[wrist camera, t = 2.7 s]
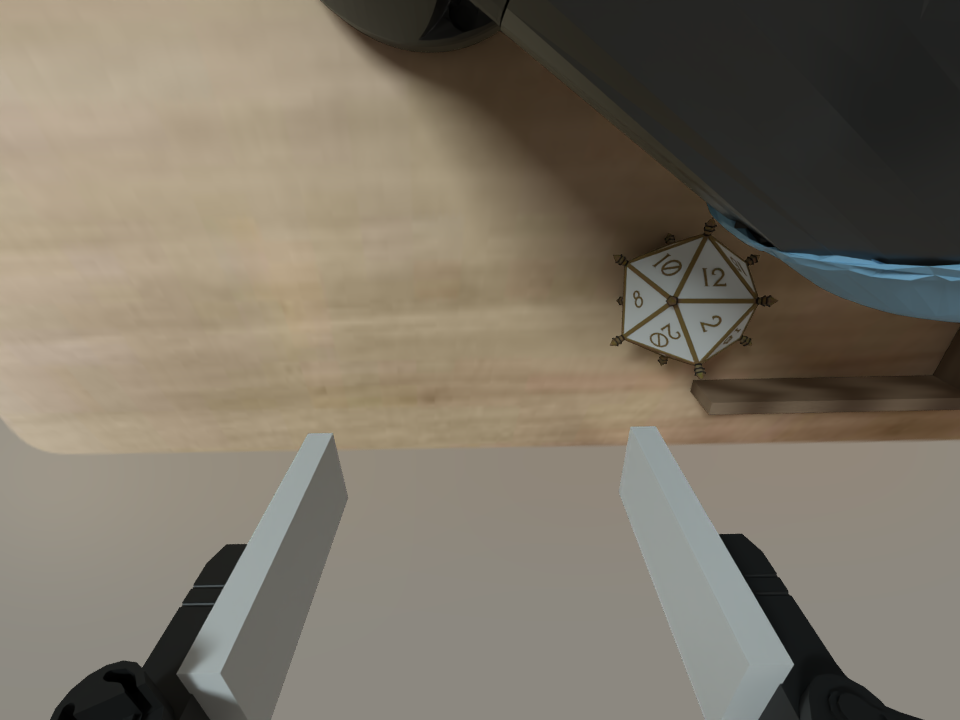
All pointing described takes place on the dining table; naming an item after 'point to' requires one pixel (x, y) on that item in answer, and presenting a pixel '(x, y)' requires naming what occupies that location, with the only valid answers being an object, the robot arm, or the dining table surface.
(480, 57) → the dining table surface
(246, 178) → the dining table surface
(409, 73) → the dining table surface
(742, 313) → the game die
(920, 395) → the walnut bay
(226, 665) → the robot arm
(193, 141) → the dining table surface
